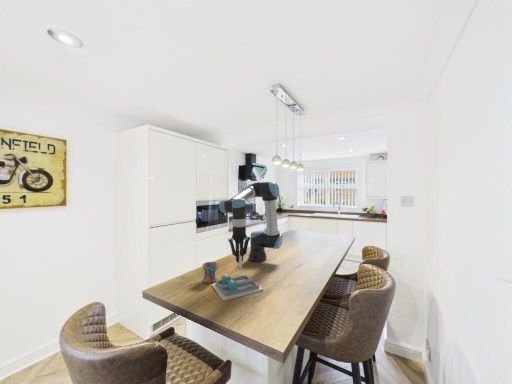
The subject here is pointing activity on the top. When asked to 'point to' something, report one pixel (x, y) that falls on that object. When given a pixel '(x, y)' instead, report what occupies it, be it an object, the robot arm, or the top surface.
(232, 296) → the switch board
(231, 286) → the tab
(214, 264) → the mug
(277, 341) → the top surface
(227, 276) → the tab
